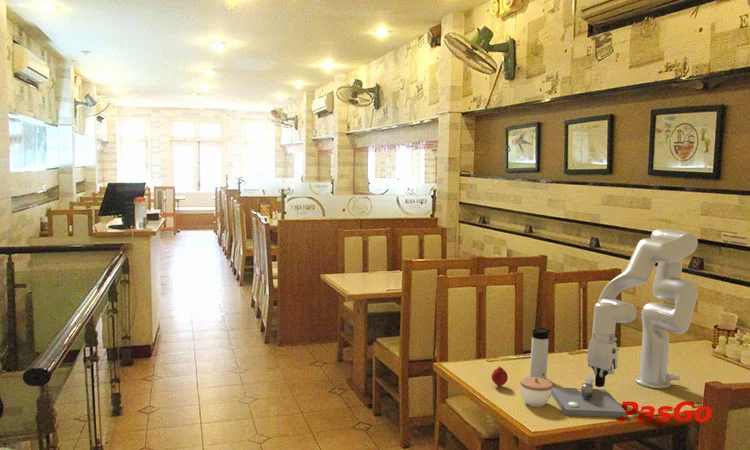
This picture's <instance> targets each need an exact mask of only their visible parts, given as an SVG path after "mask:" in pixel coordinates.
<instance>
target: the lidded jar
mask: <svg viewBox="0 0 750 450" xmlns="http://www.w3.org/2000/svg"><path fill="white" fill-rule="evenodd" d="M552 387H553V383H552V382H551V381H550V380H549V379H547V378H546V379H543V378H538V377H530V376H526V377H523V378H521V379H520V394H521V397H522V399H523V401H524V402H525V403H526V405H528V406H530V407H532V408H533V407H534V408H541V407H544V406H545V405H546V404H547V403H548V402H549V401H550V398H551V396H552V394H551V390H552Z"/></svg>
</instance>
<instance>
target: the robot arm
mask: <svg viewBox="0 0 750 450" xmlns="http://www.w3.org/2000/svg"><path fill="white" fill-rule="evenodd" d="M698 245H699V241H698V238H697V235H695V233H694V232H689V231H683V230H676V229H670V228H657V229H654V230H653V231H652V232H651V234H650V238H649V237H647V238H642V239H641V240H640V239H639V241H638V242H637V244H636V247H635V248H634V250H633V252H632V254H631V256H630V259H629V260H628V262H627V265H626V267H625V269H624V271H623V272H622V273H621V274H619V275H617V276H615V277H614V278H613V279H612V280H610V281H609V282H608V283H607V284H606V285H605V286H604V288H603V289H602V291H601V293H600V295H599V297H598V300H597V302H596V303H595V304H594V306H593V319H592V320H593V321H592V334H591V335H592V336H591V338H590V340H589V344H588V349H587V356H586V359H587V360H586V362H587V366H588V367H589V368H591V369H592V371H593V374H594V386H595V387H597V388H602V387H605V385H606V377H607V376H608V375H610V376H611V375H614V374H615V370H616V369H618V354H619V353H618V346H617V342H616V341H617V340H618V339H617V337H616V334H615V333H616V324H618V323H619V324H628V323H632V322H634V321H635V320H636V318H637V316H638V309H637V307H635V305H634V304H632V303H629V302H627V301H623V300H619V299H616V298H617V296H619V294H620V293H621V292H622V291H624V290H626V289H629V288H632V287H637V286H640V285H644V284H646V283H647V282H648V280H649V278H650V276H651V274H652V272H653V270H654V268H655V265H656V263H657V266H656V267H657V268H656V272H655V276H654V279H653V284H652V289H651V292H652V295H653V297H654V298H656V299H658V300H661V301H665V302H668V303H669V302H670V303H674V305H669V304H666V303H661V302H658V301H657V302H656V301H651V302H647V303H646V304H644V305H643V307H642V309H641V322H642V323H641V324H642V339H641V340H642V341H641V353H640V365H639V374H638V375H637V374H636V375H635V377H634V381H635V382H636V383H637V384H639V385H641V386H643V387H646V388H652V389H659V390H660V389H661V390H662V389H668V388H670V387H671V385H672V383H671V381H680V380H681V377H680V375H679V374H678V375H677V374H673V373H669V372H668V367H669V366H668V365H669V355H670V354H669V350H670V343H671V342H670V335H669V333H668V332H670V333H673V334H678V335H679V334H680V335H681V334H684V333H686V332H687V331H688V330H689V328H690V325H691V322H692V319H693V316H694V311H695V307H696V303H697V299H698V288H697V285H696V284H695V282H694V281H692V280H689V279H685V278H681V276H682V271H683V261H682V260H683V259H684V258H687V257H689V256H690V255H692V254H693V253H694V252H695V251H696V249H697V247H698Z"/></svg>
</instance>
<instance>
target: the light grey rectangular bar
mask: <svg viewBox="0 0 750 450" xmlns="http://www.w3.org/2000/svg"><path fill="white" fill-rule="evenodd" d="M594 385H595V374H594V373H589V372H586V376H585V380H584V383H582V384H581V388H582V391H581V396H582V397H584V399H590V398H592V391H593V389H594Z"/></svg>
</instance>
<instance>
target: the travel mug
mask: <svg viewBox="0 0 750 450" xmlns="http://www.w3.org/2000/svg"><path fill="white" fill-rule="evenodd" d="M549 332H551V329H550V328H545V327H544V328H543V327H541V328H540V327H539V328H534V329H533V330H532V336H531V350H530V365H529V367H530V369H529V377H538V378H543V379H546V380H547V375H548V374H547V372H548V357H549V355H548V353H549V339H550V337H549V335H550V334H549Z"/></svg>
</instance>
